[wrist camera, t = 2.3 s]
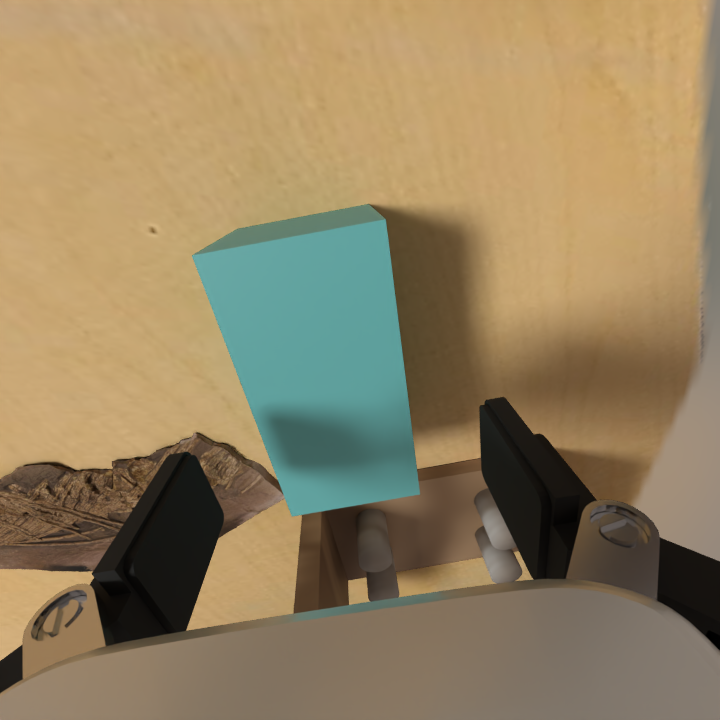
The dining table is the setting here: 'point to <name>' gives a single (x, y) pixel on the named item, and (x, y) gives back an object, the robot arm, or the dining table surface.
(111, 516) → the wooden fragment
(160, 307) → the dining table surface
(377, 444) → the turquoise block
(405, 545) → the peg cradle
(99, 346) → the dining table surface
